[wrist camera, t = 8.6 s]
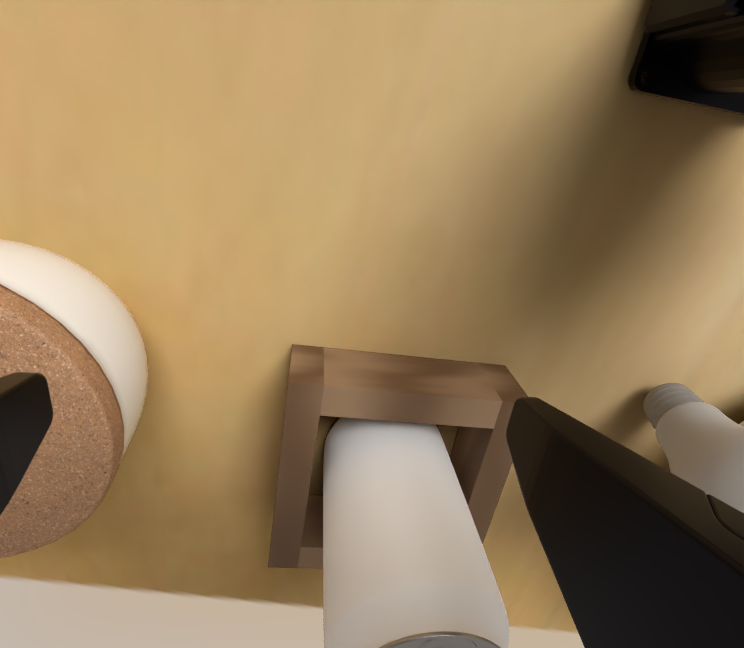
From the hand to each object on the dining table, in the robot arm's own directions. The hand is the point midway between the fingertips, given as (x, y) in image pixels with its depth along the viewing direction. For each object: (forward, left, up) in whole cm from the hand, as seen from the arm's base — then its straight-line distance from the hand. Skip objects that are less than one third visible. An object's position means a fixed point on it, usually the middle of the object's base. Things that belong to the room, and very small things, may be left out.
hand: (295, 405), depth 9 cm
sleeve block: (-5, +11, -12) cm, 17 cm away
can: (-5, +11, -13) cm, 17 cm away
